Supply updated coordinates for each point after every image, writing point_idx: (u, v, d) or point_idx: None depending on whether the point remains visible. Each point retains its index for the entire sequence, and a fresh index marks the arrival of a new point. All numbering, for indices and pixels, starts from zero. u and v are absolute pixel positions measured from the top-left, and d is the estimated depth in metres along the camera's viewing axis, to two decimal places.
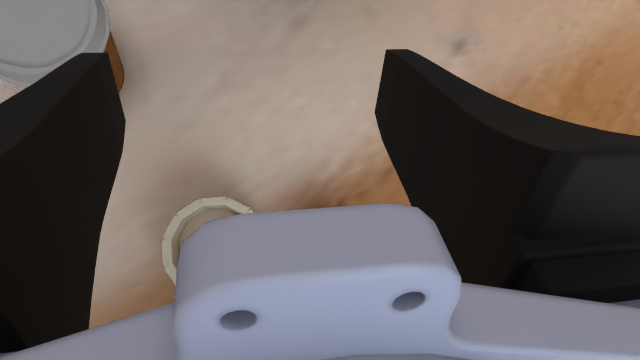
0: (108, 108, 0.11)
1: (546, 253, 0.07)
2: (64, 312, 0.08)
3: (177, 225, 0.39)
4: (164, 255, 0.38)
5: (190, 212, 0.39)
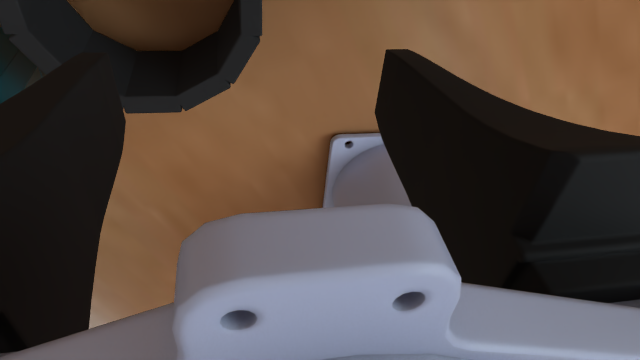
0: (108, 108, 0.11)
1: (546, 253, 0.07)
2: (64, 312, 0.08)
3: None
4: None
5: None
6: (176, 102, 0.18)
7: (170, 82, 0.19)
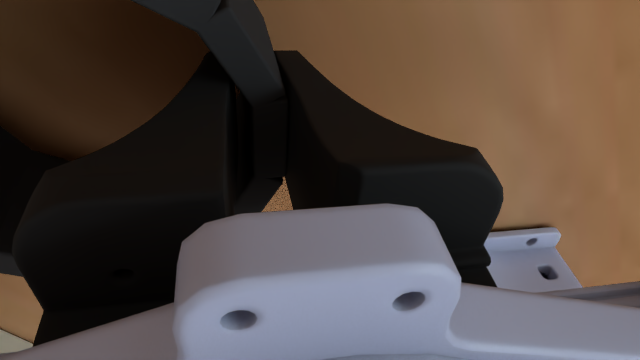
0: (235, 104, 0.11)
1: None
2: None
3: None
4: None
5: None
6: None
7: None
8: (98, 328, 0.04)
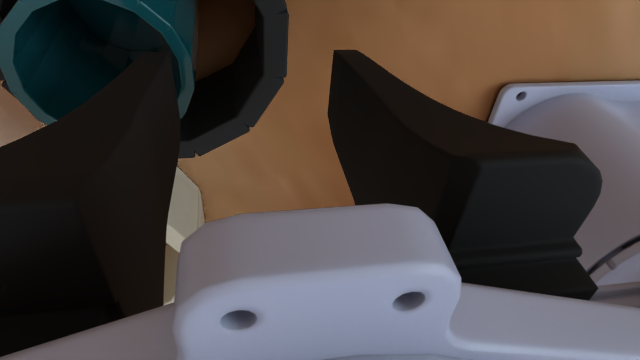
0: (171, 106, 0.11)
1: (462, 261, 0.07)
2: (150, 303, 0.08)
3: None
4: None
5: None
6: (189, 147, 0.16)
7: (182, 124, 0.17)
8: (98, 328, 0.04)
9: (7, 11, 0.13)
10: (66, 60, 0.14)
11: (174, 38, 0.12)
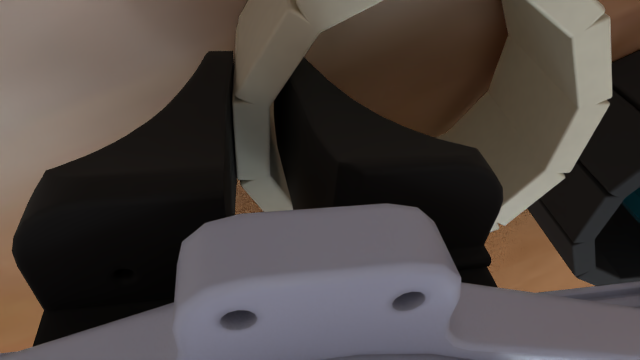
0: None
1: None
2: None
3: (298, 57, 0.09)
4: (243, 153, 0.10)
5: (359, 7, 0.08)
6: (588, 239, 0.15)
7: None
8: (98, 328, 0.04)
9: None
10: None
11: None
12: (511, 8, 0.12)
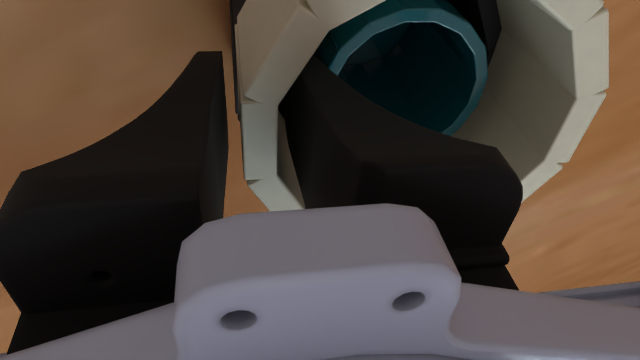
0: (224, 104, 0.11)
1: None
2: None
3: (307, 55, 0.09)
4: (251, 153, 0.10)
5: (369, 3, 0.09)
6: None
7: None
8: (98, 328, 0.04)
9: None
10: None
11: None
12: (506, 3, 0.13)
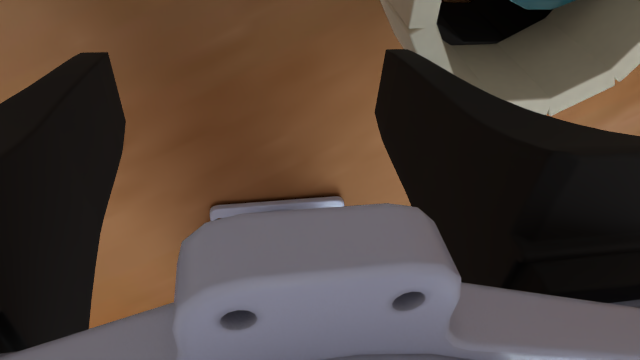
0: (108, 108, 0.11)
1: (546, 253, 0.07)
2: (64, 312, 0.08)
3: None
4: None
5: None
6: None
7: None
8: (98, 328, 0.04)
9: None
10: None
11: None
12: None
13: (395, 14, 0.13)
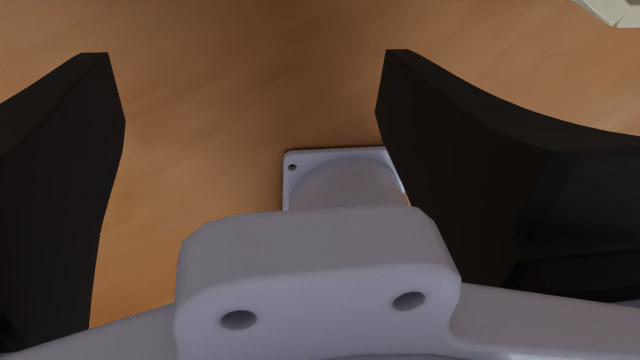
0: (108, 108, 0.11)
1: (546, 253, 0.07)
2: (64, 312, 0.08)
3: None
4: None
5: None
6: None
7: None
8: (98, 328, 0.04)
9: None
10: None
11: None
12: None
13: None
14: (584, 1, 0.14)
